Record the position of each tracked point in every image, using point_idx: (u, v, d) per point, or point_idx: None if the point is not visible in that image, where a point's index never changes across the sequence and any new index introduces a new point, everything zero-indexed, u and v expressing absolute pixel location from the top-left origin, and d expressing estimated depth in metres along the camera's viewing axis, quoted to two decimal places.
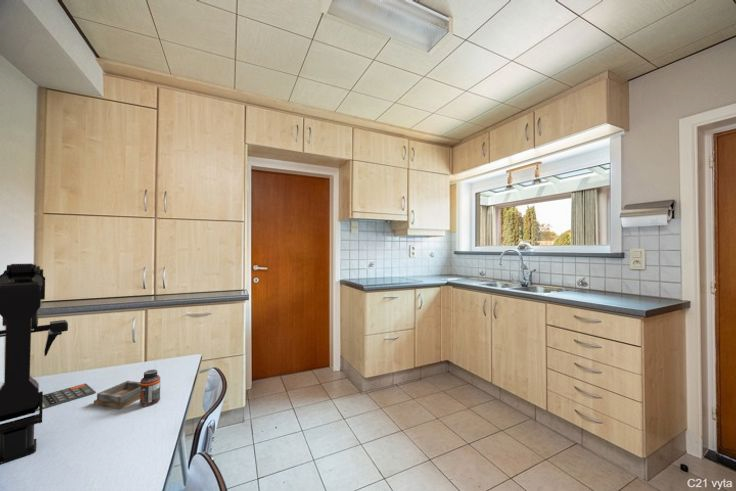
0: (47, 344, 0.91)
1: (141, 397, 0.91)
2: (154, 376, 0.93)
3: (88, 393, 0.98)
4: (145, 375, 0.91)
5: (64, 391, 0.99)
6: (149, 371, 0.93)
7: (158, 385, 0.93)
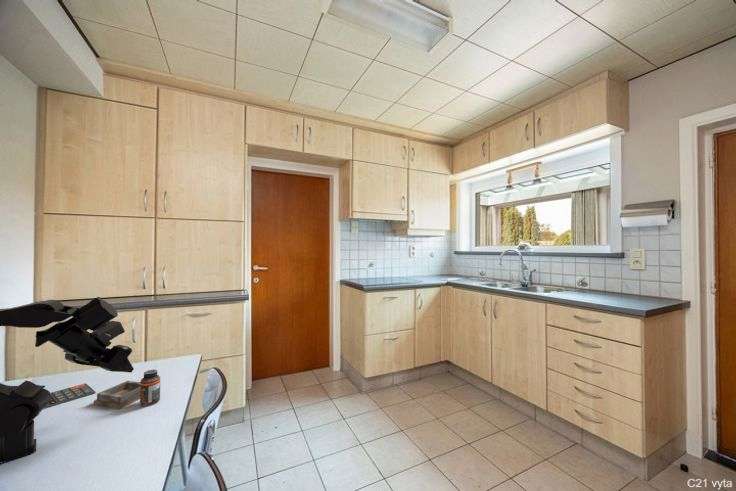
0: None
1: (141, 397, 0.91)
2: (154, 376, 0.93)
3: (88, 393, 0.98)
4: (145, 375, 0.91)
5: (64, 391, 0.99)
6: (149, 371, 0.93)
7: (158, 385, 0.93)
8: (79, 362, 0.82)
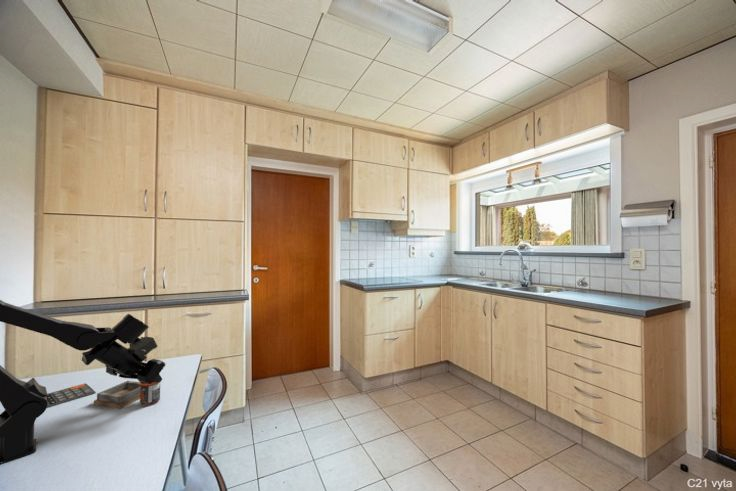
0: None
1: (141, 397, 0.91)
2: None
3: (88, 393, 0.98)
4: None
5: (64, 391, 0.99)
6: None
7: (158, 385, 0.93)
8: (122, 376, 0.90)
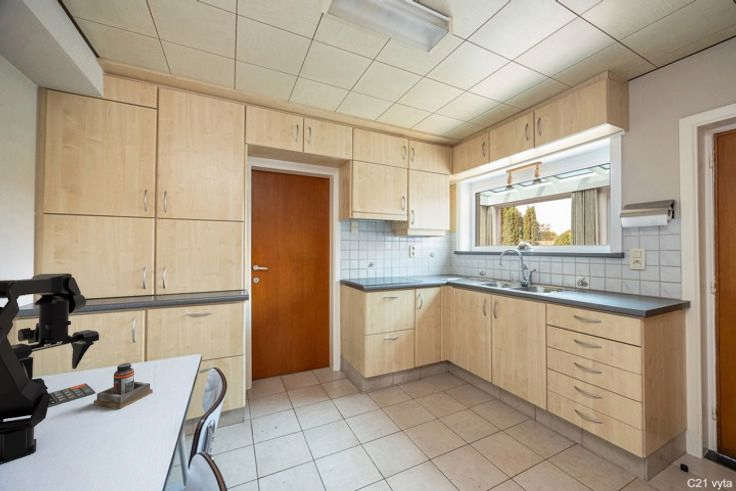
0: (79, 355, 0.86)
1: (114, 389, 0.93)
2: (127, 369, 0.95)
3: (88, 393, 0.98)
4: (118, 368, 0.94)
5: (64, 391, 0.99)
6: (123, 364, 0.95)
7: (131, 378, 0.95)
8: (27, 358, 0.76)
